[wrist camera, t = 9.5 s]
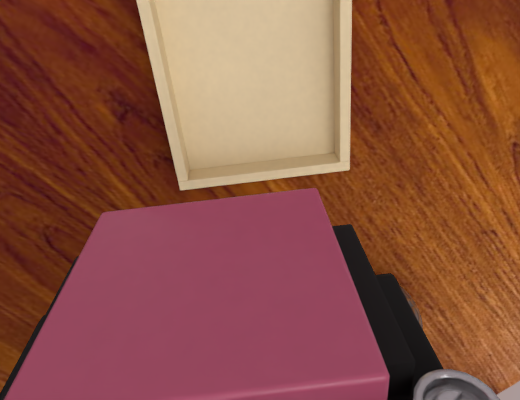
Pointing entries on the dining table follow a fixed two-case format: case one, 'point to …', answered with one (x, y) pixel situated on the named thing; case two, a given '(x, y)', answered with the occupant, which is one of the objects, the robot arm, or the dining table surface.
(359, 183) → the dining table surface
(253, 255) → the top block
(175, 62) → the tray
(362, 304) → the robot arm
